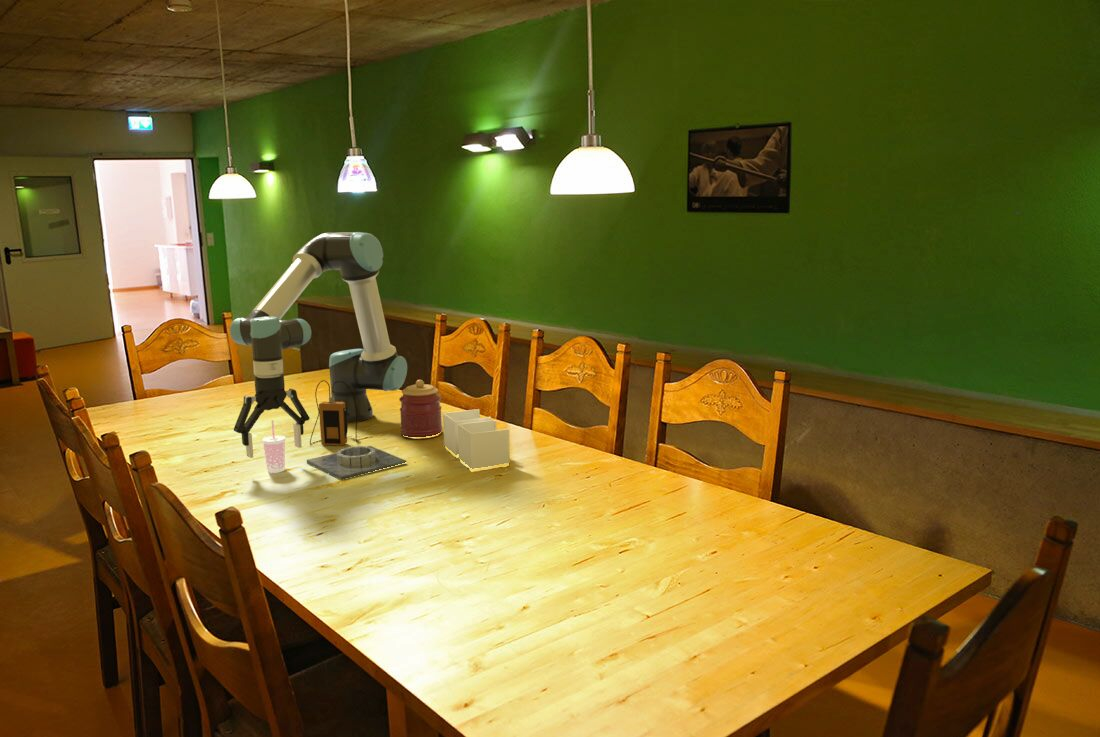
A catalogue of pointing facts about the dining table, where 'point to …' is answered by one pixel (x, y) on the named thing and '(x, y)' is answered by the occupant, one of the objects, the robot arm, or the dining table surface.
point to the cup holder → (355, 461)
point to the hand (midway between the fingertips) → (274, 451)
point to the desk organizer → (475, 439)
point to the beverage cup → (274, 452)
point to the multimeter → (333, 421)
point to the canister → (420, 410)
